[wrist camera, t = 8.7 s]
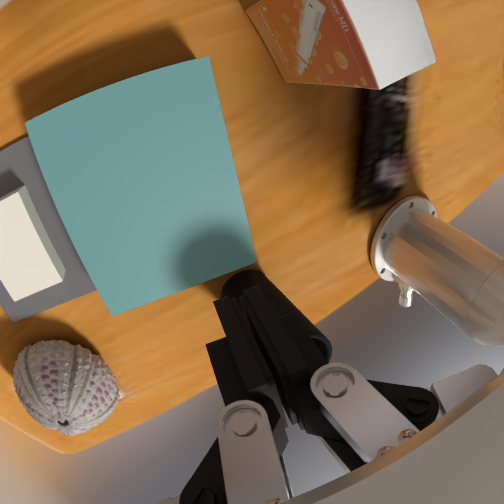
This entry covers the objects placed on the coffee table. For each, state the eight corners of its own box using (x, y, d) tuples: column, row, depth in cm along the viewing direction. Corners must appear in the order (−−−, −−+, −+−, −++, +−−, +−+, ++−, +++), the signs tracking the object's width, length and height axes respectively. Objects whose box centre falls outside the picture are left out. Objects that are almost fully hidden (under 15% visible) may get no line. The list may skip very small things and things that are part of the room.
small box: (242, 10, 22) (323, -34, 11) (299, -11, 22) (396, -46, 12) (283, 85, 27) (381, 92, 16) (335, 59, 27) (439, 61, 16)
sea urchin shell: (72, 414, 36) (74, 462, 29) (-4, 361, 28) (-16, 412, 22) (139, 375, 36) (147, 428, 30) (58, 308, 29) (49, 364, 22)
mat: (103, 285, 29) (103, 287, 29) (13, 321, 27) (12, 323, 27) (37, 131, 21) (36, 131, 21) (-59, 189, 19) (-60, 190, 18)
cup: (247, 247, 33) (302, 320, 23) (289, 283, 38) (346, 352, 28) (197, 300, 34) (231, 385, 24) (244, 328, 38) (286, 405, 29)
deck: (242, 242, 33) (256, 262, 30) (112, 291, 30) (112, 316, 27) (197, 60, 23) (208, 56, 20) (38, 118, 20) (24, 122, 17)
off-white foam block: (14, 301, 24) (19, 290, 26) (62, 281, 25) (65, 269, 27) (-32, 220, 19) (-24, 211, 21) (18, 191, 20) (24, 184, 22)
